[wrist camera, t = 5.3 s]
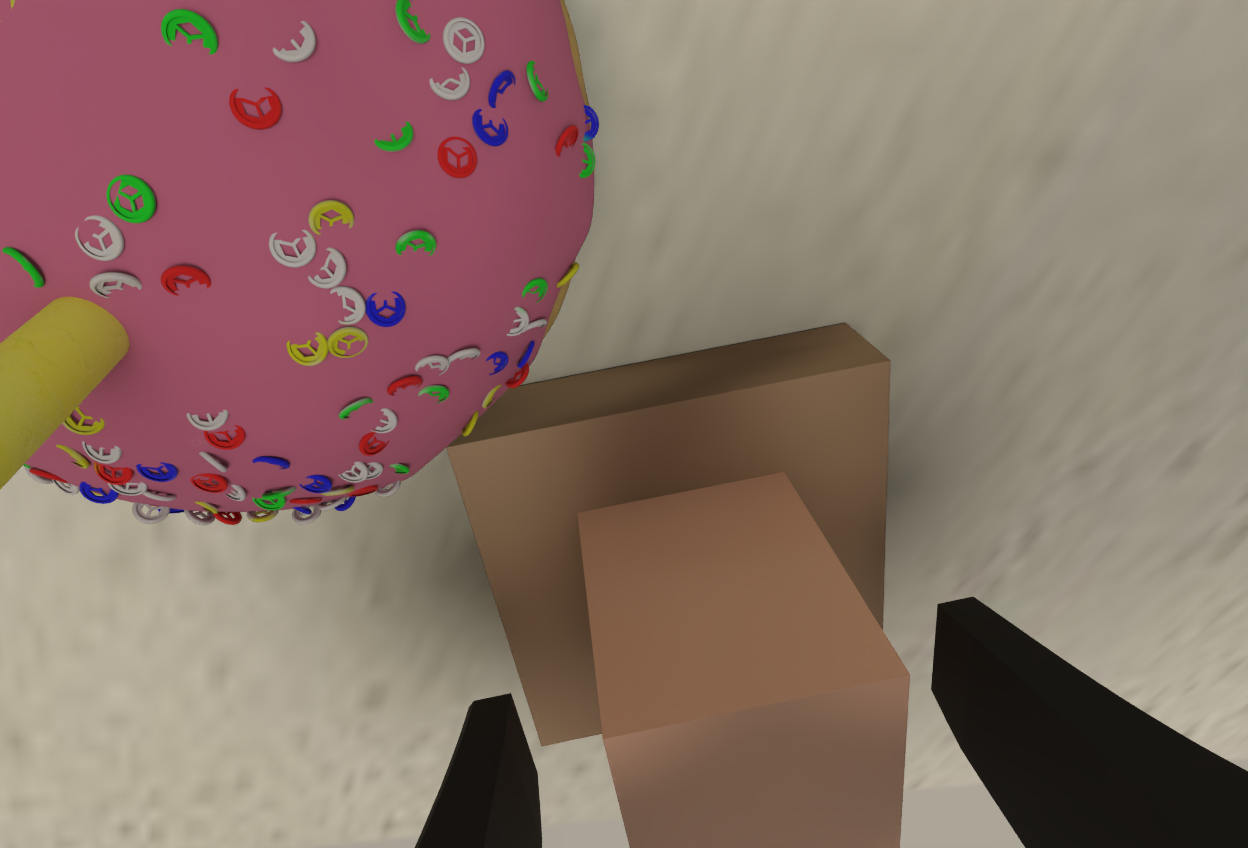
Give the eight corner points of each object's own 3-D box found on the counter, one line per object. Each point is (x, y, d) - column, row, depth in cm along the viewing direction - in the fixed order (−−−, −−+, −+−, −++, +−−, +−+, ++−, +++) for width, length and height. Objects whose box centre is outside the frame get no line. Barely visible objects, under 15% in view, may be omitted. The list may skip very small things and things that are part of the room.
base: (845, 323, 14) (890, 360, 13) (847, 614, 18) (881, 674, 16) (455, 398, 14) (446, 447, 12) (540, 678, 18) (541, 746, 16)
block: (792, 625, 15) (899, 855, 11) (610, 663, 15) (645, 911, 11) (783, 471, 13) (909, 674, 9) (577, 512, 13) (603, 739, 9)
